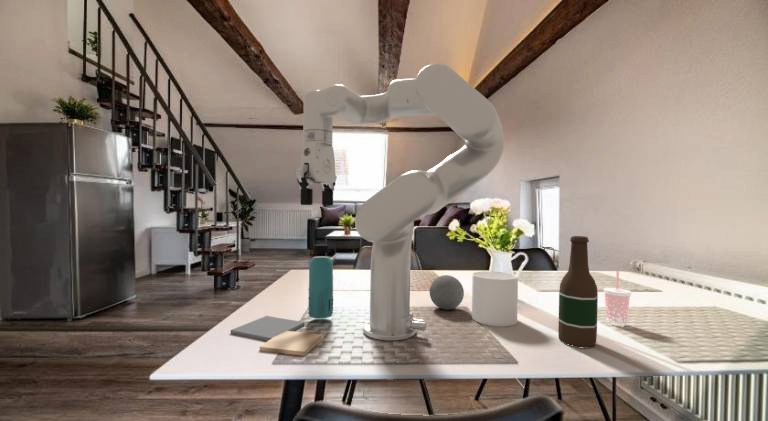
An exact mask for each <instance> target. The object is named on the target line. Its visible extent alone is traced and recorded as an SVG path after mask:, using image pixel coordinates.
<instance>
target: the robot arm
mask: <svg viewBox="0 0 768 421" xmlns="http://www.w3.org/2000/svg"><path fill="white" fill-rule="evenodd" d="M425 116H437V117H439V119H441V121H443V122H444V123H445V124H446V125H447V126H448V127H449V128H451V130H452V131H454V133H456V134H457V136H459V137H460V138H461V139H462V141H464V145H463V146H462V147H461V148H460V149H458V150H457V151H455V152H454V153H452V154H450V155H448V156H447V157H446V158H444V159H443V160H442V161H441V162H439V163H438V164H436V165H435V166H433V167H432V168H430V169H429V170H427V171H425V170H418V169H417V170H410V171H407V172H405V173H402V174H400V176H398V177H397V178H395V179H393V180H392V181H391V182H390V183H388V184H387V185H386V186H384V187H383V188H381V189H380V190H379V191H378V192H376V193H375V194H374V195H372V196H371V197H369V198H368V199H367V200H366V201H364V203H363V204H362V205H360V206H359V208H358V210H357V212H356V214H355V219H354V224H355V225H354V226H355V229H356V232H357V234H358V235H359V236H360V237H361V238H362V239H364V240H366V241H367V242H369V243H372V246H371V247H372V248H371V255H370V284H369V285H370V287H369V288H370V291H369V292H370V293H369V296H370V298H369V321H368V322H366V323H365V324H364V325H363V330H362V332H363V333H364V335H366V336H367V337H369V338H372V339H375V340H378V341H379V340H380V341H391V342H392V341H403V340H406V339H410V338H411V337H414V335H416V333H417V331H422V332H426V330H427V322H425V320H424V319H418V318H415V317H414V312H413V311H411V310H410V305H411V304H410V303H411V302H410V301H411V300H410V299H411V298H410V296H411V258H412V255H411V254H412V244H413V236H414V224H415V221H416V220H418V219H419V218H421V217H422V216H429V215H433V214H435V213H438V212H439V211H440V210H441V209H443V208H444V207H445V206H447V205H448V204H449V203H451V202H452V201H454V200H455V199H457V198H458V197H459V196H461V195H462V194H464V193H465V192H466V191H468V190H469V189H470V188H472V187H474V186H475V185H476V184H478V183H479V182H481V181H482V180H483V179H484V178H486V177H487V176H488V175H489V174H490V173H491V172H492V171H493V170H494V169H495V168H496V167H497V165H498V163H499V162H500V160H501V158H502V155H503V153H504V147H505V134H504V128H503V123H502V122H501V118H500V117H499V113H498V111H497V110H496V107H495V106H494V105H493V103H491V101H490V100H489V99H488V98H486V96H484V95H483V94H482V93H480V91H478V90H477V89H476V88H475V87H473V85H472V84H470V83H469V82H468V81H467V80H465V79H464V78H463V77H462V76H460V75H459V73H457V71H455V70H454V69H453V68H452V67H450V66H449V65H447V64H443V63H440V62H439V63H437V62H436V63H430V64H429V65H425V66H424V67H423V68H421V69H420V70H419V73H418V74H417V75H416V77H414V78H403V79H394V80H392V81H391V82H390V83H389V84H388V87H387V91H385V92H383V93H379V94H375V95H374V94H372V95H360V94H359V93H357V91H354V90H353V89H350V88H349V87H348V86H346V85H343V84H341V83H340V84H337V83H336V84H333V85H329V86H326V87H325V88H322V89H311V90H308V91H306V92H305V93H304V95H303V119H302V120H303V126H302V127H303V131H302V134H303V135H302V137H303V144H302V149H301V156H300V166H299V167H298V168H297V169H295V175H296V178H297V179H296V181H297V183H298V187H299V189H300V205H301V206H312V205H313V202H314V201H313V199H314V198H313V197H314V196H313V188H312V186H313V184H320V185H321V187H322V189H323V190H322V191H321V206H333V205H334V191H335V186H336V182H337V181H336V180H337V175H336V159H335V151H334V147H333V129H334V128H333V122H334V121H333V119H334V118H333V117H336V118H340V119H341V120H343V121H346V122H348V123H351V124H356V125H359V124H360V125H363V124H364V125H365V124H379V123H384V122H387V121H391V120H392V121H393V119H395V118H408V117H425Z"/></svg>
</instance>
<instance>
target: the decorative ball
mask: <svg viewBox="0 0 768 421" xmlns="http://www.w3.org/2000/svg"><path fill="white" fill-rule="evenodd" d="M464 295H465V291H464V287H463V285H462V283H461V281H459V279H458V278H456V277H455V276H454V275H453V276H452V275H449V274H445V275H443V274H442V275H440V276H438V277H436V278H435V279H434V280H433V281H432V282H431V285H430V287H429V298H430V299H431V301H432V303H433V304H434V305H435V306H436V307H437V308H439V309H441V310H445V311H446V310H447V311H448V310H454V309H456V308H457V307H459V306H460V304H462V301H463V299H464V297H465V296H464Z"/></svg>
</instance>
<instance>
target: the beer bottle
mask: <svg viewBox="0 0 768 421" xmlns="http://www.w3.org/2000/svg"><path fill="white" fill-rule="evenodd" d="M569 241H570V242H571V245H570V254H569V255H570V256H569V265H568V270H567V272H566V273H565V274H564V276H563V277H562V279H561V281H560V284H559V290H558V340H559V339H560V340H561V341H560V340H559V341H560V342H562V341H563V342H564V343H563V342H562V343H563V344H565V343H566V344H569V345H573V346H577V347H576V348H578V347H593V348H594V347H595V345H596V344H595V343H597V338H598V300H599V298H598V296H599V295H598V294H599V293H598V286H597V284H596V280H595V279H594V277H593V275H592V274H591V273H590V266H589V252H588V251H589V250H588V243H590V242H589V241H590V240H589V237H587V236H584V235H583V236H582V235H572V236H571V237H570V240H569ZM566 344H565V345H566ZM569 345H568V346H569ZM573 346H572V347H573Z"/></svg>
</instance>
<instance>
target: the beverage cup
mask: <svg viewBox="0 0 768 421" xmlns="http://www.w3.org/2000/svg"><path fill="white" fill-rule="evenodd" d="M619 274H620V273H619V271H618V270H617V271H616V277H615V278H616V282H615V287H604V288H603V293H604V304H605V321H606V320H607V321H608V322H611V323H615V324H627V325H628V319H629V308H630V297H631V296H632V291H631V290H628V289H626V288H625V289H623V288H619V282H620V281H619V279H620V278H619Z"/></svg>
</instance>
